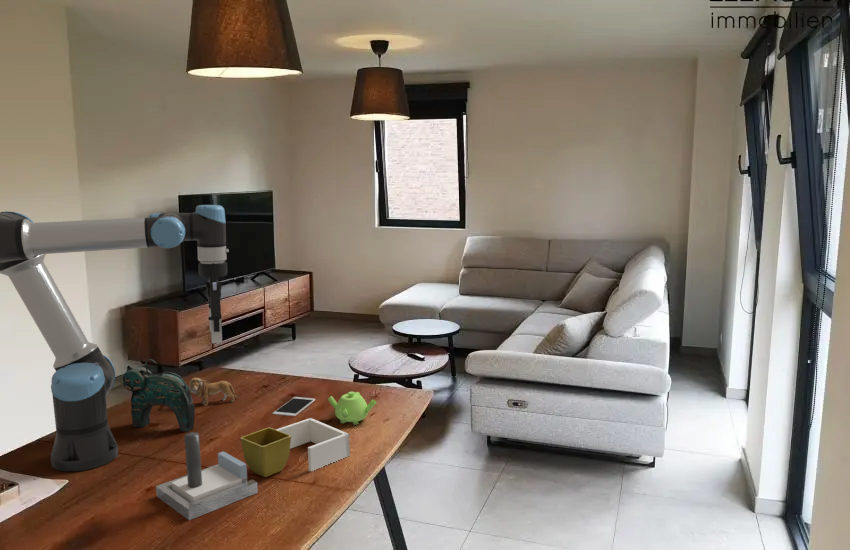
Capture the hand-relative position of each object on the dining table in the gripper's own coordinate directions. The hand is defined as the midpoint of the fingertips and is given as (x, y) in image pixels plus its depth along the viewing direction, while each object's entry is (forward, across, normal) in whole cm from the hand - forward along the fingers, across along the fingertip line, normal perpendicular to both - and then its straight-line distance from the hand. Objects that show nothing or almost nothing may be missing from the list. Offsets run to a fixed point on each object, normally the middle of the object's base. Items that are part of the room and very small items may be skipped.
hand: (215, 337), depth 189 cm
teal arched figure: (+26, +4, +15) cm, 31 cm away
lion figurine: (+26, +18, +1) cm, 32 cm away
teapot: (+25, -11, -36) cm, 45 cm away
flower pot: (+26, -35, -9) cm, 45 cm away
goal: (+25, -30, -21) cm, 44 cm away
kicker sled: (+25, -42, +4) cm, 49 cm away
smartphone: (+26, +7, -22) cm, 35 cm away
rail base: (+26, -42, +5) cm, 50 cm away
